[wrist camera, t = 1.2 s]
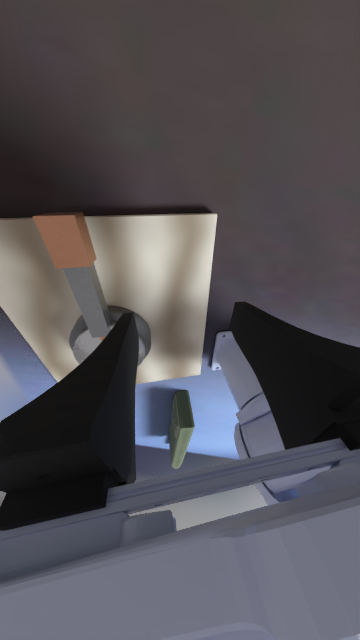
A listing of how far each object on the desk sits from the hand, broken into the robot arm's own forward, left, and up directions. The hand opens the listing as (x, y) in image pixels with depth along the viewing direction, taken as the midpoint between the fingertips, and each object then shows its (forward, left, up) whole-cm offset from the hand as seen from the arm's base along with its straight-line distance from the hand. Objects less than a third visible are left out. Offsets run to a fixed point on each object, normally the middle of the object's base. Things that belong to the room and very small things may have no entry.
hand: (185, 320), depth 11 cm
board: (+6, +6, -8) cm, 12 cm away
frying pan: (+7, +3, -6) cm, 9 cm away
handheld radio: (0, +35, -9) cm, 36 cm away
